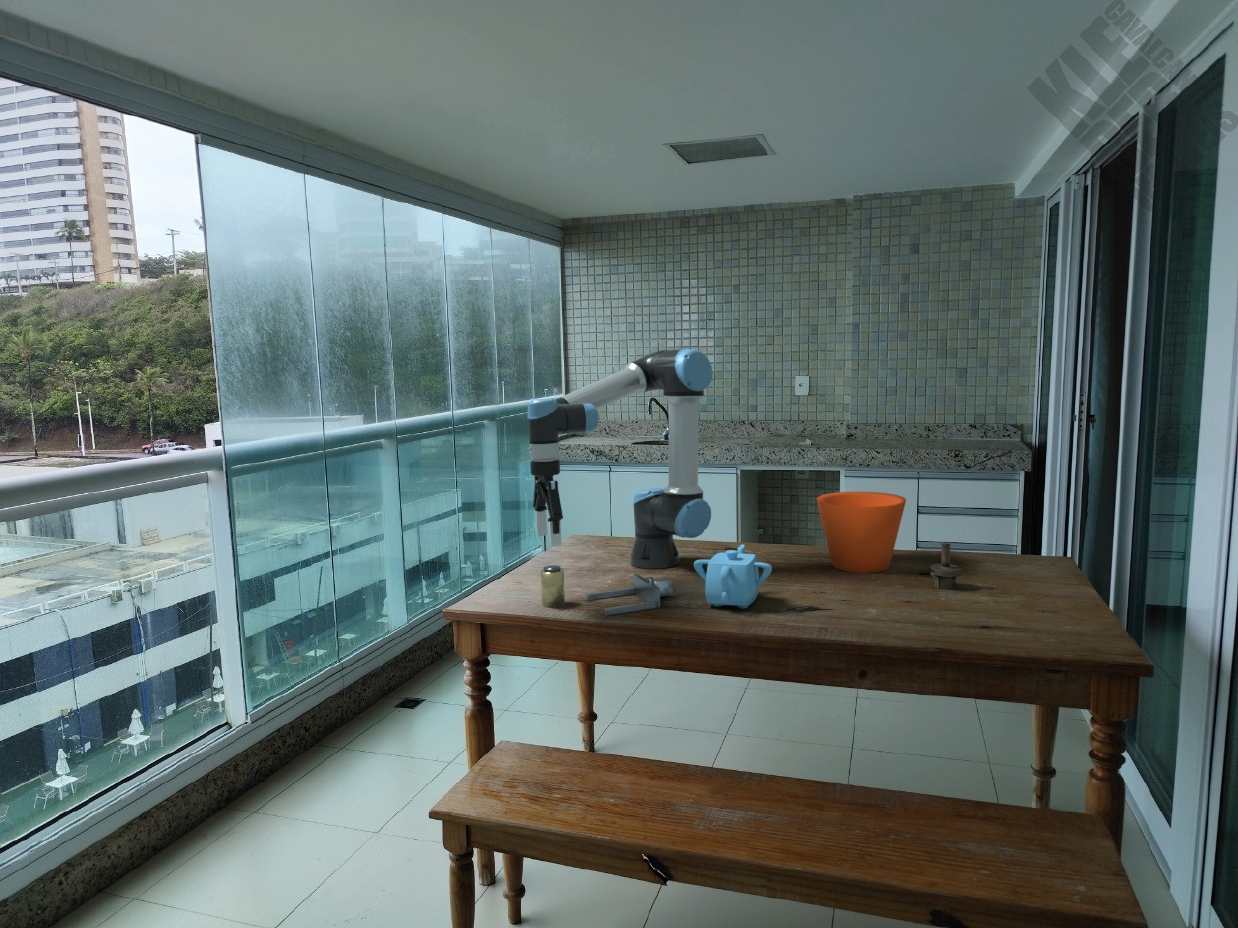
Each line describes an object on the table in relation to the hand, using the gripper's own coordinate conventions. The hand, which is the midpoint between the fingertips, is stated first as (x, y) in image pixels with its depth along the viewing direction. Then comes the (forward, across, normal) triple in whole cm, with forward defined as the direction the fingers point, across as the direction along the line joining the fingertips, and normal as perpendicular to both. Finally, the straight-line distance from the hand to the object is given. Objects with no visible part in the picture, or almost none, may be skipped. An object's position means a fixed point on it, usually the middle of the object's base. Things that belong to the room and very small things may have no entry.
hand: (548, 540), depth 214 cm
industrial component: (+17, +33, +98) cm, 105 cm away
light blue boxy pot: (+17, +19, +44) cm, 51 cm away
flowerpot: (+17, +5, +92) cm, 94 cm away
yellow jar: (+17, 0, 0) cm, 17 cm away
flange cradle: (+17, +8, +20) cm, 27 cm away
